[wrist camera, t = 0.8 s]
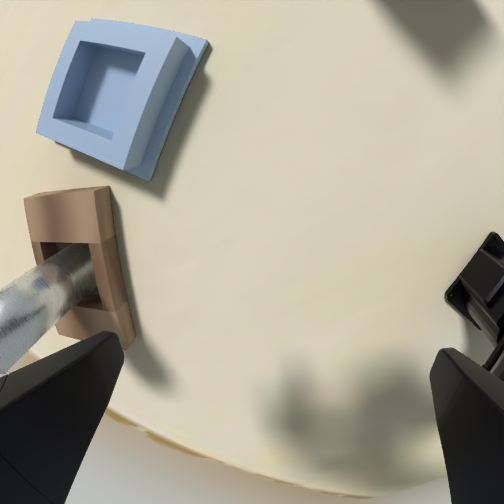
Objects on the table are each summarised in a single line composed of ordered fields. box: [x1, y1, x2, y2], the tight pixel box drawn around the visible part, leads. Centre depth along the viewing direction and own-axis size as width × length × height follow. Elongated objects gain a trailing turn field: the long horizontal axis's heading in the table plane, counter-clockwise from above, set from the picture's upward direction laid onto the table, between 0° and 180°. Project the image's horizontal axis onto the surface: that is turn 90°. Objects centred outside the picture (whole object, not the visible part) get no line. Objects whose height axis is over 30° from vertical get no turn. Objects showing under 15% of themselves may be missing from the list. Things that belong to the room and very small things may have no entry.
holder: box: [24, 186, 136, 350], centre depth 22 cm, size 8×13×2 cm, turn 1°
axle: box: [0, 243, 97, 374], centre depth 17 cm, size 4×4×12 cm
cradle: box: [36, 18, 209, 181], centre depth 16 cm, size 10×10×3 cm
